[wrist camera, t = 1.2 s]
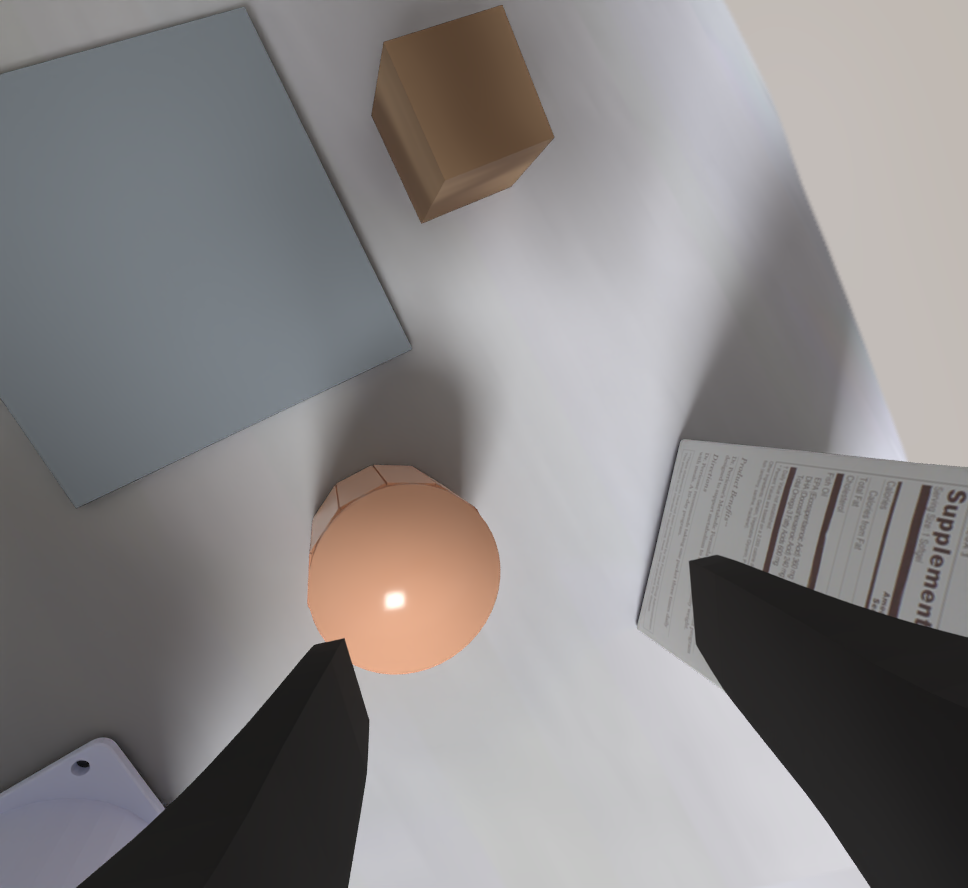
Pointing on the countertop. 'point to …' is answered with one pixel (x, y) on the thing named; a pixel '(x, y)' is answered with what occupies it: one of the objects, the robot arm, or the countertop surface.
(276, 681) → the countertop surface
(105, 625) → the countertop surface
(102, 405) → the slate mat
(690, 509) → the supplement box
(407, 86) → the walnut block
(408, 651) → the peach faceted cylinder
